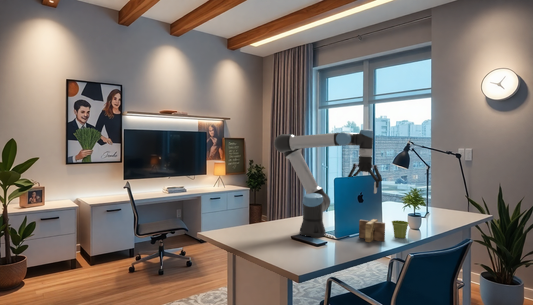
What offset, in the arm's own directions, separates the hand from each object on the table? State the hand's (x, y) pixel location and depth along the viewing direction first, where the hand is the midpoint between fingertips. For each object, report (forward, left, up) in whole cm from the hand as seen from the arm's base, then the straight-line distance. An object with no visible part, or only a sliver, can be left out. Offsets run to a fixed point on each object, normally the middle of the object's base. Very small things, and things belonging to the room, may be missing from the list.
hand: (363, 191), depth 210 cm
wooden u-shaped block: (+7, -7, -25) cm, 27 cm away
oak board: (+7, -7, -25) cm, 27 cm away
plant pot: (+19, +7, -25) cm, 33 cm away
